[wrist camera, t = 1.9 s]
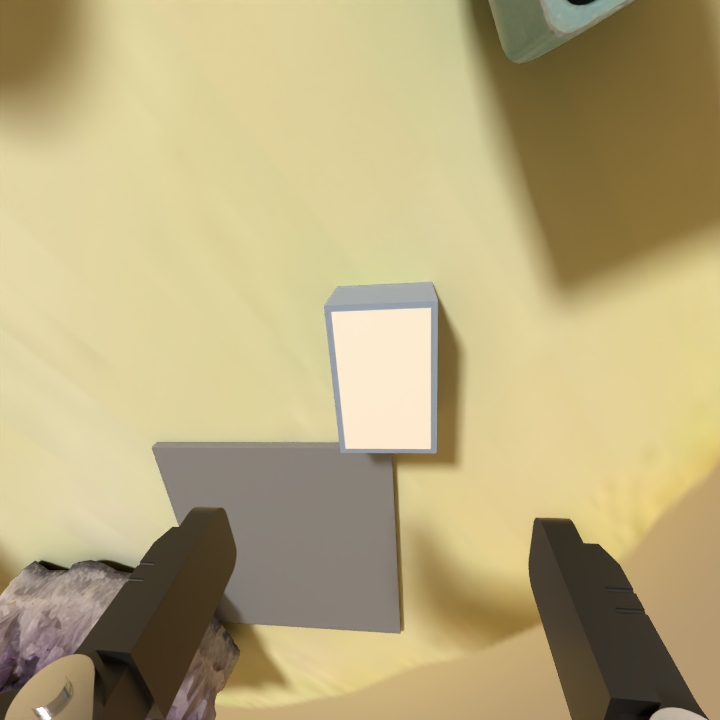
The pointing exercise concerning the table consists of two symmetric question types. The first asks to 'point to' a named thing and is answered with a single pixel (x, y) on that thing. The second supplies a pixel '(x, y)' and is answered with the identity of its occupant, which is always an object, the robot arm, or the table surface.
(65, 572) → the geode
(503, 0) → the flower pot
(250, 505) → the rubber mat
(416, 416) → the card box
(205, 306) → the table surface
